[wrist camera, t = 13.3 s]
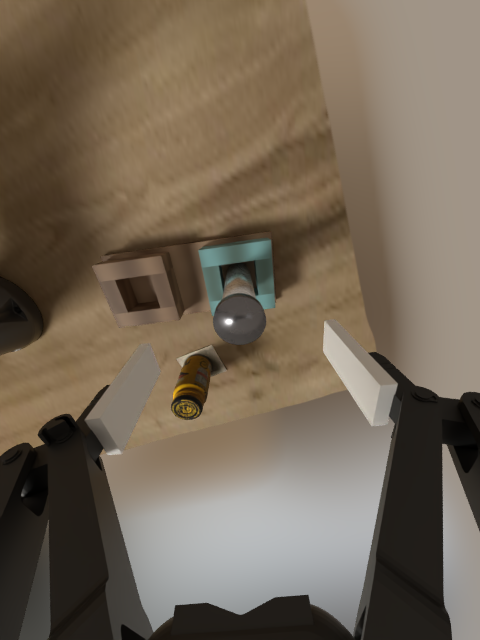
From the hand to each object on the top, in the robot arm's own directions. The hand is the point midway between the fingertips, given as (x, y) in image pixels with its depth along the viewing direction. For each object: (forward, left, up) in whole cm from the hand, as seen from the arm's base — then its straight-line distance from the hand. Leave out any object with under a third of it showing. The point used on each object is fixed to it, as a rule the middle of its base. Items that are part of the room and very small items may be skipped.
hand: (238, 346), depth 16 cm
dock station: (-6, -5, -24) cm, 25 cm away
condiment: (+4, -21, -24) cm, 32 cm away
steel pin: (0, 0, -22) cm, 22 cm away
